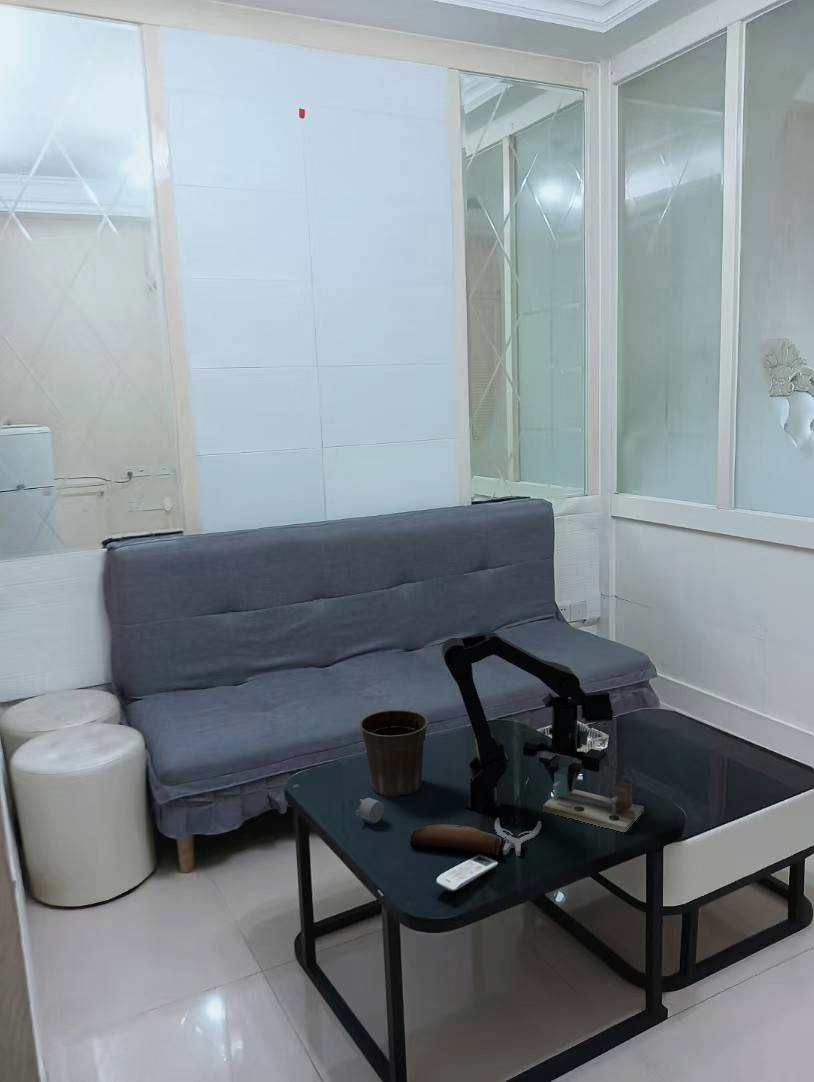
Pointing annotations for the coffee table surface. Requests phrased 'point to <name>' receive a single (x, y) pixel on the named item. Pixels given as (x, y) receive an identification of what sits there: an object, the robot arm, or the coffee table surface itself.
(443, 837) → the sunglasses case
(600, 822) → the beige board with blocks
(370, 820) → the electric motor
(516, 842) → the pliers
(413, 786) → the plant pot
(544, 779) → the coffee table surface
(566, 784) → the teal block
